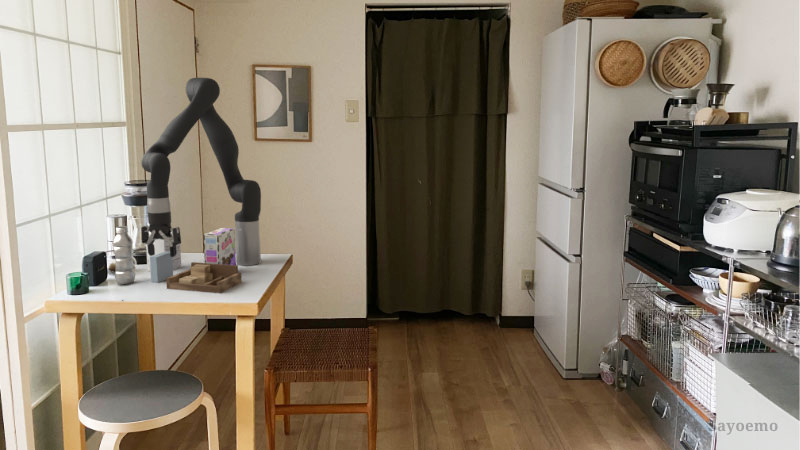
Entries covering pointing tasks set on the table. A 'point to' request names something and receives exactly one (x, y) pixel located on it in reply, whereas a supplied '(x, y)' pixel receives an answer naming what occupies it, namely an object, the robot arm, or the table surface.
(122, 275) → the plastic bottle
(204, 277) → the offcut
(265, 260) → the table surface
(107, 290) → the table surface
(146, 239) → the robot arm
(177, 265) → the supplement box
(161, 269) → the board
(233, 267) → the tray
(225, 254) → the candy box
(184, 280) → the offcut
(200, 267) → the offcut
